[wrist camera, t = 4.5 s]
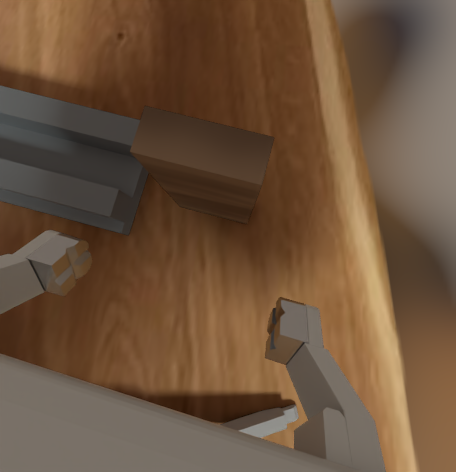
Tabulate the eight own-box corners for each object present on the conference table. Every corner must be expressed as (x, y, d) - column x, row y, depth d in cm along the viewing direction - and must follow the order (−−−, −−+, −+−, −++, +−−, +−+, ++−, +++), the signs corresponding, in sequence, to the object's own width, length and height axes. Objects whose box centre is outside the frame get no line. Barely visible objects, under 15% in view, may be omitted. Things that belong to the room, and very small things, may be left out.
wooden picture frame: (246, 224, 22) (261, 185, 11) (179, 206, 22) (129, 151, 11) (253, 197, 22) (275, 133, 11) (187, 180, 22) (146, 102, 11)
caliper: (60, 463, 20) (-17, 553, 14) (59, 449, 20) (-19, 531, 14) (297, 414, 20) (326, 481, 14) (294, 400, 20) (322, 461, 14)
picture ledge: (128, 235, 22) (105, 229, 18) (-70, 181, 23) (-134, 164, 19) (160, 135, 23) (145, 109, 19) (-31, 88, 24) (-84, 53, 20)
